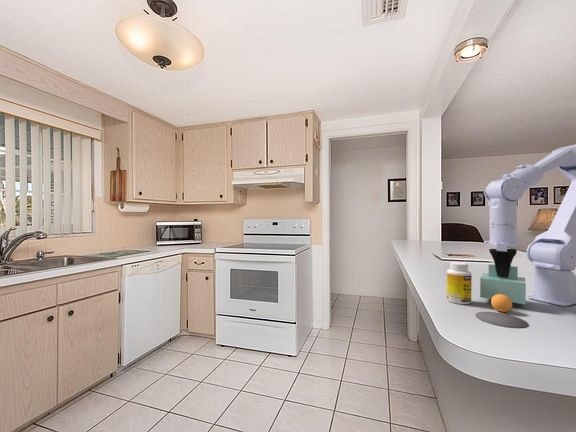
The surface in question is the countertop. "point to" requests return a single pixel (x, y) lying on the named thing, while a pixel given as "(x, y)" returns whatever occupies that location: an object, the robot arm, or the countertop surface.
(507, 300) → the ball
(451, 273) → the supplement bottle
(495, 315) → the disc
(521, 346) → the countertop surface
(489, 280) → the two-tier mint step
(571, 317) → the countertop surface
